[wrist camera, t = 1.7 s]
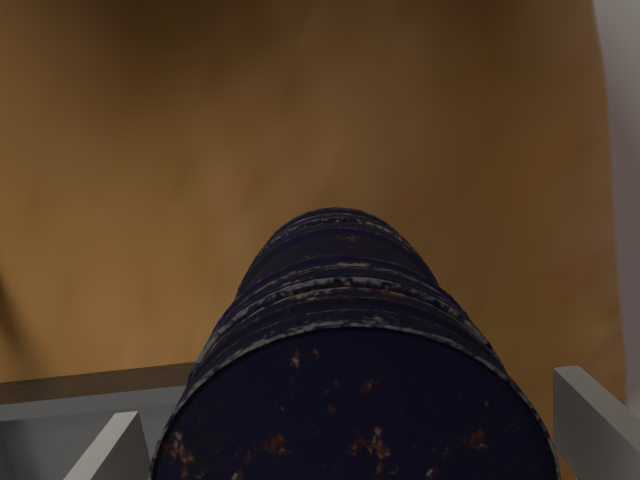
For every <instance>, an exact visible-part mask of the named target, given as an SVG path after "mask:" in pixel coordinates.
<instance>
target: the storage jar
mask: <svg viewBox="0 0 640 480" xmlns="http://www.w3.org/2000/svg"><path fill="white" fill-rule="evenodd" d="M148 480H561V475H560V469H559V464H558V458H557V454H556V451H555V449H554V446H553V443H552V441H551V438H550V435H549V433H548V430H547V428H546V426H545V425H544V423H543V421H542V420H541V418H540V417H539V415H538V413H537V412H536V410H535V409H534V407H533V405H532V404H531V402H530V401H529V400H528V398H527V397H526V396H525V395H524V393H523V392H522V391H521V389H520V388H519V387H518V386H517V384H516V383H515V382H514V381H513V380H512V379H511V377H510V376H509V375H508V374H507V372H506V371H505V368H504V366H503V364H502V362H501V361H500V359H499V357H498V356H497V354H496V353H495V351H494V349H493V348H492V346H491V345H490V343H489V342H488V341H487V340H486V338H485V337H484V336H483V334H482V333H481V332H480V331H479V329H478V328H477V327H476V326H475V325H474V324H473V322H472V321H471V320H470V318H469V317H468V315H467V313H466V312H465V311H464V310H463V309H462V308H461V306H460V305H459V304H458V303H457V302H456V301H455V300H454V299H453V298H452V297H451V296H450V295H449V294H448V293H447V292H445V291H444V290H443V289H442V288H440V287H439V285H438V283H437V280H436V278H435V277H434V275H433V273H432V272H431V270H430V269H429V267H428V266H427V264H426V263H425V262H424V261H423V260H422V258H421V257H420V255H419V254H418V253H417V252H416V251H415V249H414V248H413V247H412V246H411V245H410V244H409V243H408V242H407V240H405V239H404V238H403V237H402V236H400V235H399V233H398V232H397V231H396V230H395V229H393V228H392V227H391V226H390V225H388V224H387V223H386V222H384V221H383V220H381V219H379V218H377V217H376V216H374V215H371V214H368V213H366V212H363V211H360V210H355V209H350V208H338V207H332V208H323V209H317V210H314V211H310V212H307V213H304V214H302V215H300V216H298V217H295V218H293V219H292V220H290V221H289V222H287V223H286V224H284V225H283V226H282V227H281V228H280V229H278V230H277V231H276V232H275V233H274V234H273V235H272V236H271V238H270V239H269V240H268V241H267V243H266V244H265V245H264V247H263V248H262V249H261V251H260V252H259V253H258V254H257V256H256V257H255V259H254V260H253V262H252V264H251V266H250V268H249V269H248V271H247V273H246V274H245V276H244V278H243V280H242V281H241V283H240V285H239V288H238V291H237V294H236V296H235V300H234V302H233V303H232V304H231V305H230V307H229V308H228V309H227V310H226V312H225V313H224V314H223V315H222V317H221V318H220V319H219V321H218V322H217V324H216V326H215V328H214V330H213V331H212V333H211V335H210V337H209V339H208V341H207V343H206V345H205V347H204V348H203V350H202V352H201V354H200V356H199V357H198V359H197V361H196V363H195V365H194V366H193V368H192V370H191V372H190V374H189V377H188V380H187V383H186V386H185V389H184V392H183V394H182V396H181V398H180V400H179V402H178V404H177V405H176V407H175V409H174V411H173V413H172V414H171V416H170V418H169V420H168V422H167V423H166V425H165V427H164V429H163V431H162V433H161V434H160V436H159V438H158V441H157V444H156V447H155V450H154V454H153V457H152V460H151V463H150V468H149V475H148Z"/></svg>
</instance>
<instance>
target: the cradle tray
mask: <svg viewBox="0 0 640 480" xmlns="http://www.w3.org/2000/svg"><path fill="white" fill-rule="evenodd" d="M195 363H196V362H193V363H183V364H174V365H165V366H156V367H146V368H137V369H128V370H119V371H109V372H100V373H91V374H81V375H72V376H63V377H54V378H44V379H35V380H26V381H17V382H7V383H0V480H63V479H64V478H65V477H66V476H67V474H68V473H69V472H70V471H71V469H72V468H73V467H74V465H75V464H76V463H77V462H78V460H79V459H80V458H81V456H82V455H83V454H84V453H85V451H86V450H87V449H88V447H89V446H90V445H91V444H92V442H93V441H94V440H95V439H96V437H97V436H98V435H99V433H100V432H101V431H102V430H103V428H104V427H105V426H106V424H107V423H108V422H109V421H110V419H111V418H112V417H113V415H114V414H115V413H123V412H133V411H139V415H140V419H141V424H142V428H143V432H144V436H145V440H146V444H147V448H148V453H149V457H150V461H151V460H152V457H153V454H154V450H155V447H156V444H157V441H158V438H159V436H160V434H161V433H162V431H163V429H164V427H165V425H166V423H167V422H168V420H169V418H170V416H171V414H172V413H173V411H174V409H175V407H176V405H177V404H178V402H179V400H180V398H181V396H182V394H183V392H184V389H185V386H186V383H187V380H188V377H189V374H190V372H191V370H192V368H193V366H194V365H195Z"/></svg>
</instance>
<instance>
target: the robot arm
mask: <svg viewBox="0 0 640 480" xmlns="http://www.w3.org/2000/svg"><path fill="white" fill-rule="evenodd" d="M553 428H554V446H555V448H556V449H557V450H558V452H559V453H560V454H561V455H562V457H563V458H564V459H565V461H566V462H567V463H568V465H569V466H570V467H571V469H572V470H573V471H574V473H575V474H576V475H577V477H578V478H579V479H580V480H640V419H639V418H638V417H637V416H636V415H635V414H634V413H633V412H631V411H630V410H629V409H628V408H627V407H626V406H625V405H623V404H622V403H621V402H620V401H619V400H618V399H617V398H615V397H614V396H613V395H612V394H611V393H610V392H609V391H607V390H606V389H605V388H604V387H603V386H602V385H600V384H599V383H598V382H597V381H596V380H595V379H594V378H592V377H591V376H590V375H589V374H588V373H587V372H586V371H584V370H583V369H582V368H581V367H580V366H579V365H575V366H565V367H556V368H553ZM150 463H151V461H150V457H149V453H148V448H147V444H146V440H145V436H144V432H143V428H142V424H141V419H140V415H139V411H133V412H123V413H115V414H114V415H113V417H112V418H111V419H110V421H109V422H108V423H107V424H106V426H105V427H104V428H103V430H102V431H101V432H100V433H99V435H98V436H97V437H96V439H95V440H94V441H93V442H92V444H91V445H90V446H89V447H88V449H87V450H86V451H85V453H84V454H83V455H82V456H81V458H80V459H79V460H78V462H77V463H76V464H75V465H74V467H73V468H72V469H71V471H70V472H69V473H68V474H67V476H66V477H65V478H64V479H63V480H148V475H149V468H150Z"/></svg>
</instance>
